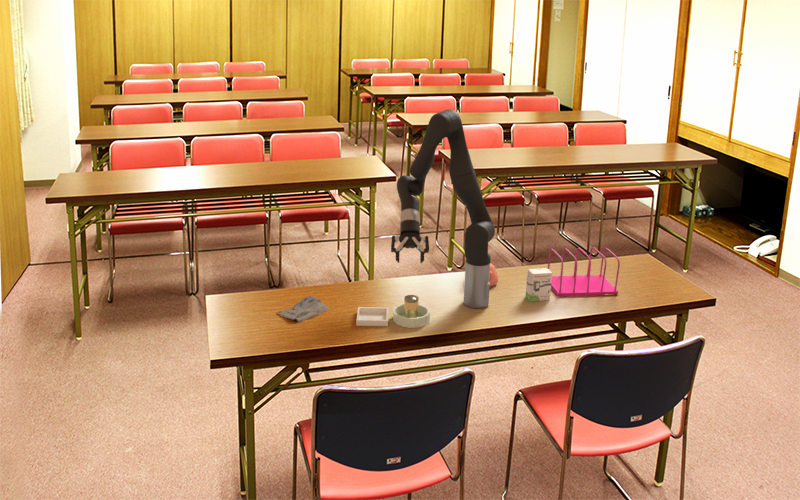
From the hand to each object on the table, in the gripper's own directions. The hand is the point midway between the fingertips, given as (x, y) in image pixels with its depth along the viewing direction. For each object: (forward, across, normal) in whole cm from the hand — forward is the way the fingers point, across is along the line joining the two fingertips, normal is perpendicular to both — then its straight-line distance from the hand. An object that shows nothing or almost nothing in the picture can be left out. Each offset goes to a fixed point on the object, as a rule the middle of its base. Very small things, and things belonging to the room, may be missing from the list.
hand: (409, 262), depth 265 cm
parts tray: (+22, -13, +4) cm, 26 cm away
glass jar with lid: (+21, 0, +4) cm, 21 cm away
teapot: (-5, +31, +31) cm, 44 cm away
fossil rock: (+17, -40, +9) cm, 44 cm away
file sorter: (-2, +70, +28) cm, 76 cm away
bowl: (+22, +1, +4) cm, 22 cm away
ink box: (+6, +51, +20) cm, 55 cm away
